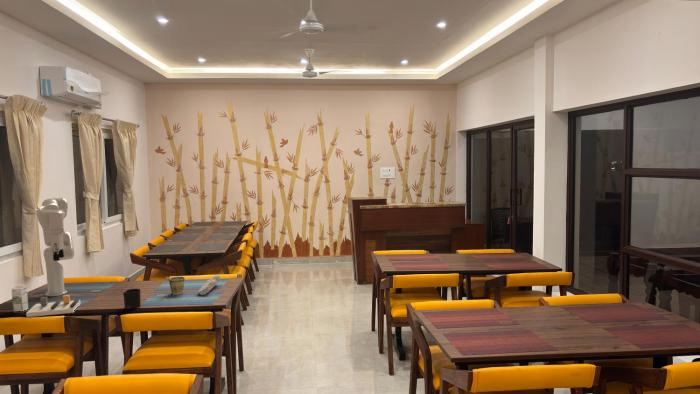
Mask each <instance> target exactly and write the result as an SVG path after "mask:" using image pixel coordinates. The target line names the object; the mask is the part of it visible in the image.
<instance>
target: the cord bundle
mask: <svg viewBox="0 0 700 394" xmlns="http://www.w3.org/2000/svg"><path fill="white" fill-rule="evenodd" d="M79 300H80V298H79V297H76V298H75V300H73V301H74V302H73V303H72V304H71V305H70V307H71V308H73V307H74V306H75V305H76V303H77V302H78V301H79ZM54 302H55V303H54V304H53V305H52V306H51V309H52V310H53V309H55V307H56V306H57V305H58V304H59V303H60V302H62V300H61V299H60V298H59V299H57V300H56V301H54Z"/></svg>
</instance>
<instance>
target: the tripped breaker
mask: <svg viewBox="0 0 700 394" xmlns="http://www.w3.org/2000/svg"><path fill="white" fill-rule="evenodd" d="M62 298H63V299H62V302H64V304H66V303H70V301H71V295H70V294H63V296H62Z"/></svg>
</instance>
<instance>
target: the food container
mask: <svg viewBox="0 0 700 394" xmlns="http://www.w3.org/2000/svg"><path fill="white" fill-rule="evenodd" d="M220 277H221V276H220V274H216V275H214V276H213V277H211V278H210V279H206V280H205V282H204V283H203V284H202V285H201V287H200V288H199V290H198V291H197V293H198V294H199V295H201V296H206V295H207V294H208V293H209V292H210V291H211V290H212V289H213V288H214V287H216V285H217V284H218V282H219V280H220V279H221V278H220Z"/></svg>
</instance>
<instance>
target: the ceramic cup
mask: <svg viewBox="0 0 700 394" xmlns="http://www.w3.org/2000/svg"><path fill="white" fill-rule="evenodd" d="M185 278H186V277H185V276H173V277H169V278H168V284H169V286H170V290H171V295H173V296H175V295H176V296H177V295H181V294H183V293H184V288H185V286H184V285H185V281H186V279H185Z"/></svg>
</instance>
